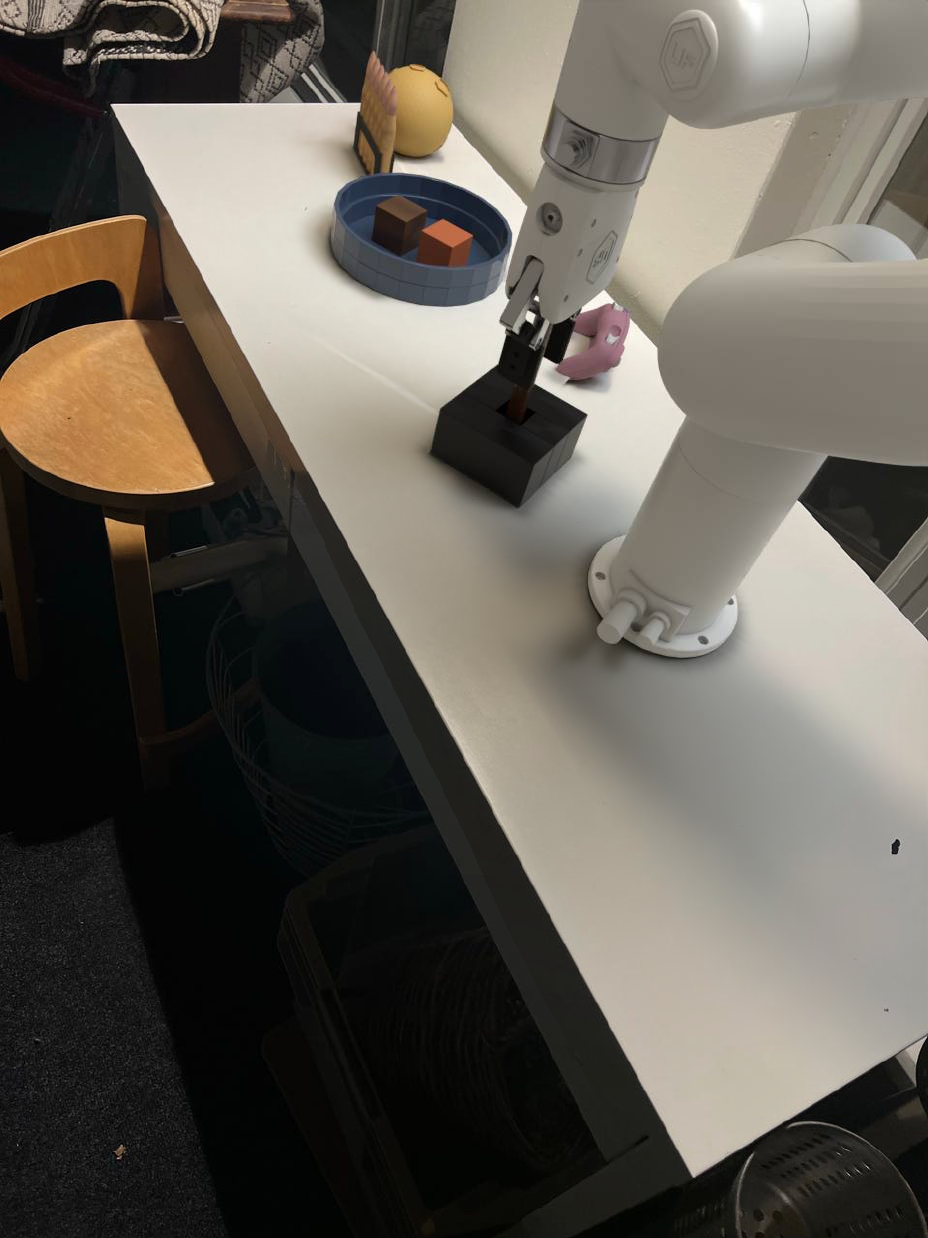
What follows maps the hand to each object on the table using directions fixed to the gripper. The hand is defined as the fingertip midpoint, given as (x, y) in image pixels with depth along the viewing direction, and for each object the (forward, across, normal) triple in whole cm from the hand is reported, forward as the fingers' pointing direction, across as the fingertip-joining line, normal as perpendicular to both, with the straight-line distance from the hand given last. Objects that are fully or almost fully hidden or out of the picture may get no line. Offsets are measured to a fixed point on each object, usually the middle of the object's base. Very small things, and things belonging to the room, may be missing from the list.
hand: (530, 365), depth 74 cm
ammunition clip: (+10, +31, +39) cm, 51 cm away
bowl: (+10, +20, +24) cm, 33 cm away
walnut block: (+9, +20, +27) cm, 35 cm away
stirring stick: (+10, 0, 0) cm, 10 cm away
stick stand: (+10, 0, 0) cm, 10 cm away
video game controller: (+10, +19, +2) cm, 22 cm away
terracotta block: (+9, +20, +21) cm, 30 cm away
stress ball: (+10, +40, +40) cm, 57 cm away
